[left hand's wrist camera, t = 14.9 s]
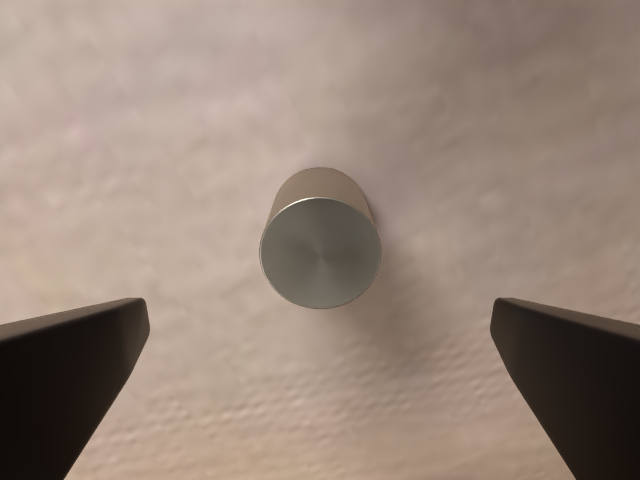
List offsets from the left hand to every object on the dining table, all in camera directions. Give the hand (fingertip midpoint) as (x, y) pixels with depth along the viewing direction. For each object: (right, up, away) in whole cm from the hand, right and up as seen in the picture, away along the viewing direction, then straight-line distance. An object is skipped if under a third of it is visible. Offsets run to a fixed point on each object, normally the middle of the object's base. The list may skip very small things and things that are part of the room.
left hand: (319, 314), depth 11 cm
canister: (0, +3, +7) cm, 8 cm away
